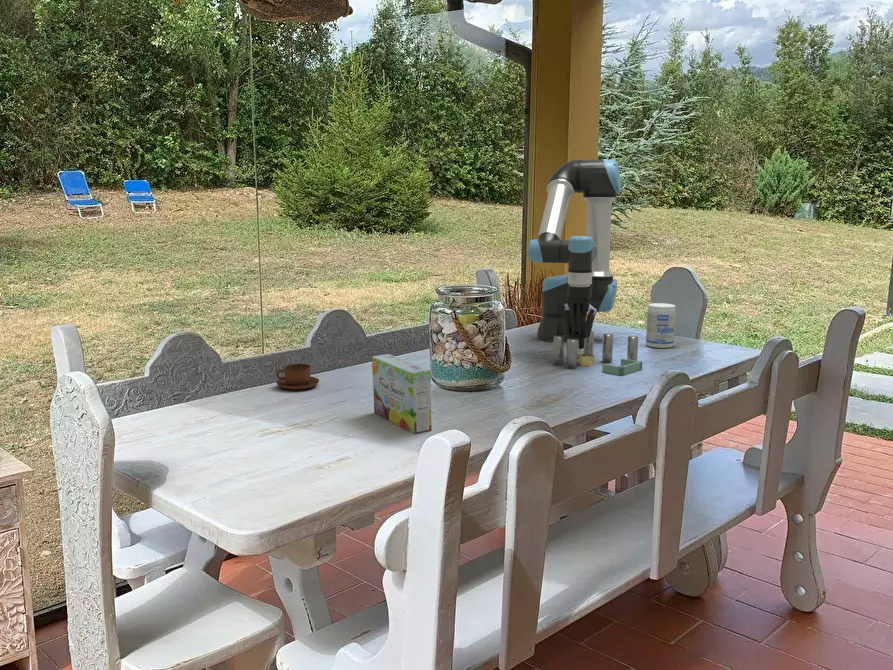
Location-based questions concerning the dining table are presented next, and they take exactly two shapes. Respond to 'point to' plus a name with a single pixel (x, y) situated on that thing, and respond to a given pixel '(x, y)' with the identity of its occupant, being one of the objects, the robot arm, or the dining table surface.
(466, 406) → the dining table surface
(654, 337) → the supplement tub
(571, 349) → the spacers
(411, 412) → the snack box
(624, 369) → the tray
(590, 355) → the nut
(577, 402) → the dining table surface
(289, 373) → the cup and saucer
